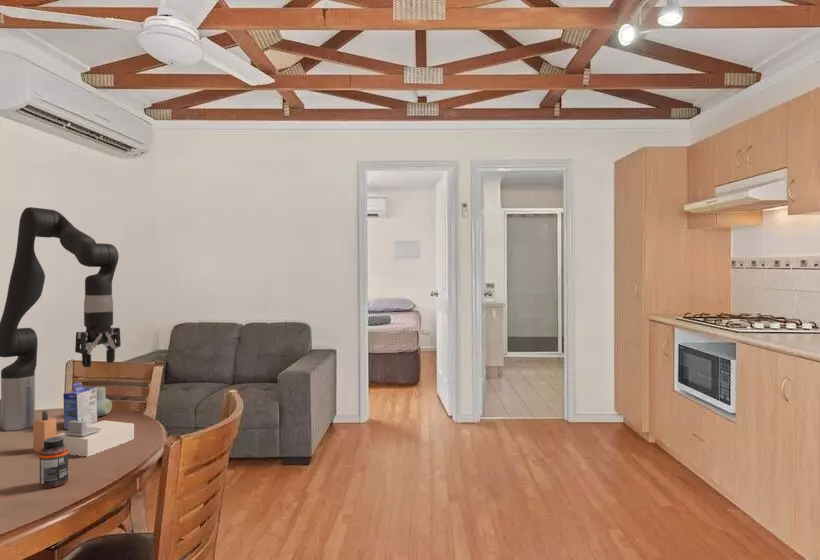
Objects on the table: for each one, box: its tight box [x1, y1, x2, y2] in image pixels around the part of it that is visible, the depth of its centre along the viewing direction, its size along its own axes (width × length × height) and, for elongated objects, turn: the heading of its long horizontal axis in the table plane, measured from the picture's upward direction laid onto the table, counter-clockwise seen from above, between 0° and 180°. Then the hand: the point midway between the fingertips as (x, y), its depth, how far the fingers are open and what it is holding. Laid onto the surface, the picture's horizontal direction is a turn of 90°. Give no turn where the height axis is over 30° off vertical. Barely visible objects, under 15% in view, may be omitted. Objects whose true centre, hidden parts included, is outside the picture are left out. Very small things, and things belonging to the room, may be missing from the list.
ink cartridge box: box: [63, 382, 98, 430], centre depth 186 cm, size 10×6×14 cm, turn 174°
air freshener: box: [94, 386, 113, 418], centre depth 199 cm, size 11×8×10 cm
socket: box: [55, 420, 135, 458], centre depth 164 cm, size 12×17×5 cm
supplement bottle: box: [39, 437, 69, 489], centre depth 134 cm, size 6×6×11 cm
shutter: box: [63, 420, 101, 436], centre depth 160 cm, size 7×6×4 cm
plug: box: [32, 410, 57, 453], centre depth 160 cm, size 4×4×11 cm
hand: (98, 364), depth 162 cm, fingers open, 8 cm apart
